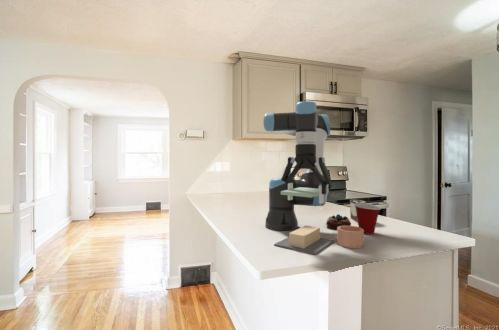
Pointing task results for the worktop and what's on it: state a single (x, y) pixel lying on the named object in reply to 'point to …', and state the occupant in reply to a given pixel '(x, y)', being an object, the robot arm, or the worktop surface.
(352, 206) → the food container
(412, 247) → the worktop surface
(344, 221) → the pastry
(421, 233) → the worktop surface
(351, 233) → the bowl
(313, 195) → the sheet
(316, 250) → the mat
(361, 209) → the plastic cup
